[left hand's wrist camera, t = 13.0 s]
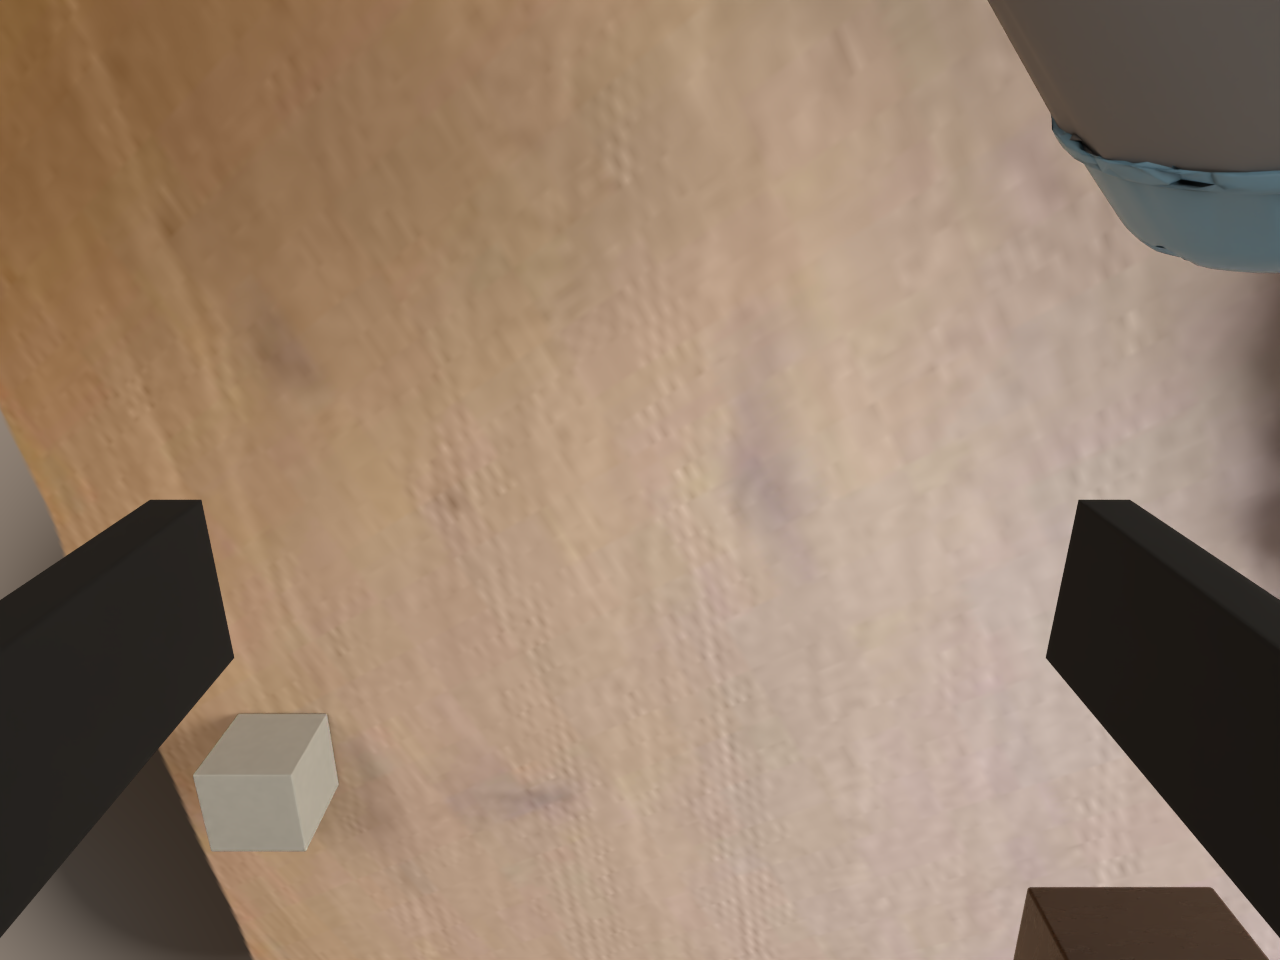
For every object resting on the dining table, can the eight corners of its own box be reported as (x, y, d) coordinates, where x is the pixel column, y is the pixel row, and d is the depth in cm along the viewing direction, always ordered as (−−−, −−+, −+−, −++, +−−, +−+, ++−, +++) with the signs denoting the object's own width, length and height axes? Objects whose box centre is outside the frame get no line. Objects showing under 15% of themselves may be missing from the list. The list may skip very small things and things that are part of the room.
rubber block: (238, 713, 45) (192, 775, 41) (327, 713, 45) (291, 775, 41) (253, 784, 47) (210, 852, 42) (339, 784, 47) (306, 852, 42)
